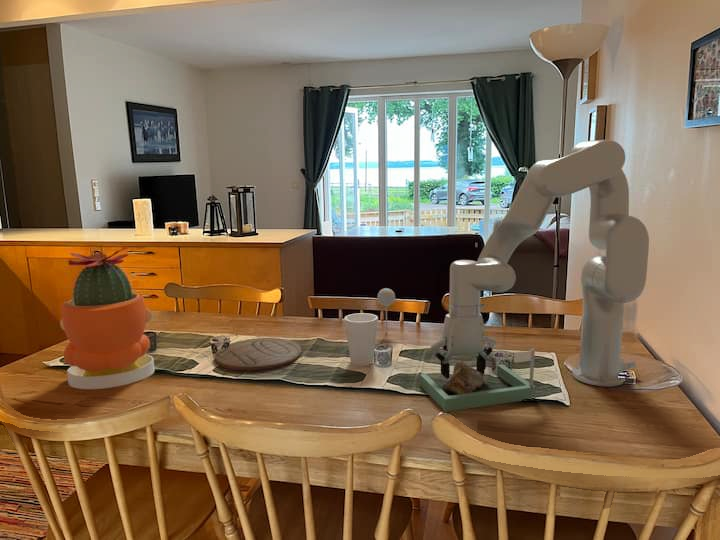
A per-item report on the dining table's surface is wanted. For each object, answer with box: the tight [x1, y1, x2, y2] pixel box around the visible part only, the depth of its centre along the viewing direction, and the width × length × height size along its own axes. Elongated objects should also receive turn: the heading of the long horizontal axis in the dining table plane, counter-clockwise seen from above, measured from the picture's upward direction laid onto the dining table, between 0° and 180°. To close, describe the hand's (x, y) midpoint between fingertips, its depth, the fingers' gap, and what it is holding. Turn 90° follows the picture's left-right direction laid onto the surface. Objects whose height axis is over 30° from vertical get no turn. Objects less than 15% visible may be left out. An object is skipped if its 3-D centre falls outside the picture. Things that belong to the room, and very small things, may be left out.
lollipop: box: [376, 287, 396, 333], centre depth 180 cm, size 6×6×15 cm
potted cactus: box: [59, 246, 155, 390], centre depth 143 cm, size 22×22×35 cm
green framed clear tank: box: [419, 348, 537, 412], centre depth 132 cm, size 23×16×12 cm
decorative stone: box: [442, 360, 485, 395], centre depth 136 cm, size 10×4×15 cm
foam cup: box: [343, 312, 379, 367], centre depth 154 cm, size 10×9×13 cm
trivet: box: [214, 337, 302, 373], centre depth 162 cm, size 25×25×2 cm
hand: (463, 374), depth 139 cm, fingers open, 9 cm apart
